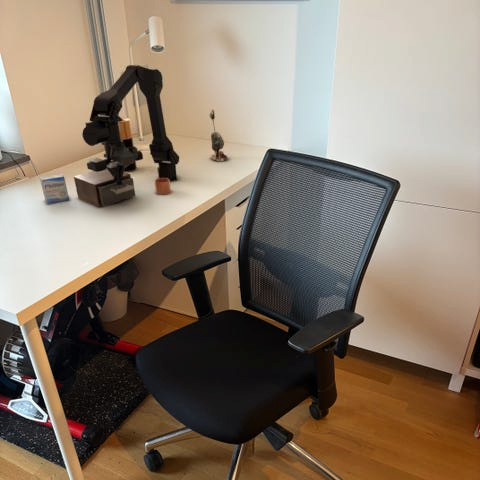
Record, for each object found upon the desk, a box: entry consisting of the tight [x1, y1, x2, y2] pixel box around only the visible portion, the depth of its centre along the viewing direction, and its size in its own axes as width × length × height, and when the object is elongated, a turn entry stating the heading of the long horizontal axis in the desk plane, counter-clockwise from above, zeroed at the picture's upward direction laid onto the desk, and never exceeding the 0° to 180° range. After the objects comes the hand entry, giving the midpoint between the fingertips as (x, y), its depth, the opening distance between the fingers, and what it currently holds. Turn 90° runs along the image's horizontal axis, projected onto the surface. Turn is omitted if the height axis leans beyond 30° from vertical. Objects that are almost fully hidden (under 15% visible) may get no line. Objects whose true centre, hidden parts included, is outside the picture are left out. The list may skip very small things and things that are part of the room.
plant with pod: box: [209, 108, 229, 162], centre depth 212 cm, size 8×11×20 cm
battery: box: [118, 117, 138, 172], centre depth 204 cm, size 7×7×20 cm
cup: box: [154, 177, 172, 196], centre depth 184 cm, size 5×5×4 cm
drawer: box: [97, 177, 136, 207], centre depth 177 cm, size 17×13×6 cm
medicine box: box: [39, 173, 70, 205], centre depth 179 cm, size 8×4×9 cm, turn 117°
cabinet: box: [73, 168, 132, 208], centre depth 180 cm, size 14×15×8 cm
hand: (119, 185), depth 172 cm, fingers closed
